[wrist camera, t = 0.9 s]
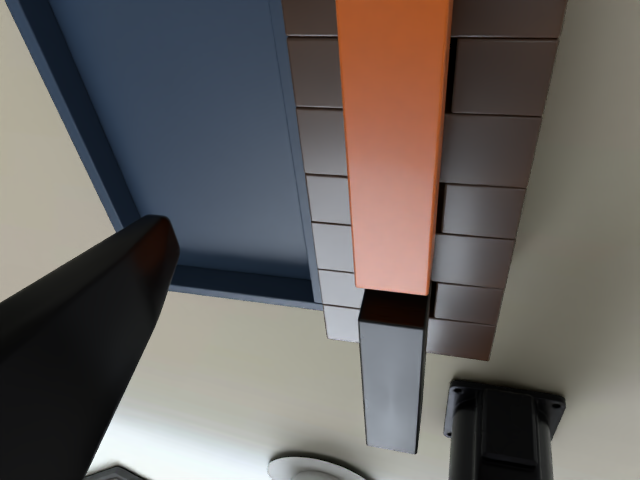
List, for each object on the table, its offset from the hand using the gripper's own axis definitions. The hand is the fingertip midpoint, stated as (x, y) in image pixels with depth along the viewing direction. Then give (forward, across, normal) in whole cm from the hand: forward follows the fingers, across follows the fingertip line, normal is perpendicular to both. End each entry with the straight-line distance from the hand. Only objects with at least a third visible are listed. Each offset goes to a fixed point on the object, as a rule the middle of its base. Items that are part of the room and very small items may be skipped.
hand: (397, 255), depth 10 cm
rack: (+12, 0, +5) cm, 13 cm away
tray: (+12, +10, +5) cm, 16 cm away
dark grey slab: (+12, 0, +10) cm, 15 cm away
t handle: (+12, 0, 0) cm, 12 cm away
